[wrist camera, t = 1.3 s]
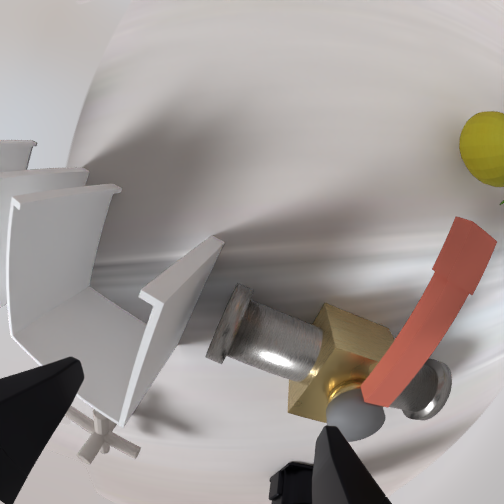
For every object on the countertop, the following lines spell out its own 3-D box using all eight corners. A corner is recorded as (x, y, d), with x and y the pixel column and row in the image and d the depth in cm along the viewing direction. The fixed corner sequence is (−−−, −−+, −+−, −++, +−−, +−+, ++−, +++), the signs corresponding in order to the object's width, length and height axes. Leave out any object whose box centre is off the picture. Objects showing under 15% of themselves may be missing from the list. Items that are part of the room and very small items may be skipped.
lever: (359, 428, 15) (362, 445, 13) (315, 418, 15) (316, 437, 13) (485, 239, 11) (503, 247, 9) (445, 209, 11) (463, 214, 9)
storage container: (15, 227, 24) (-52, 250, 13) (33, 140, 21) (-45, 141, 10) (178, 344, 24) (123, 427, 13) (225, 241, 21) (164, 303, 10)
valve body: (437, 347, 21) (469, 394, 14) (401, 395, 22) (420, 445, 15) (244, 268, 21) (222, 312, 14) (217, 333, 23) (191, 388, 16)
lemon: (465, 100, 15) (541, 75, 5) (499, 156, 15) (577, 158, 6) (425, 141, 16) (510, 124, 7) (463, 200, 17) (548, 221, 7)
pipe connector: (87, 366, 27) (41, 414, 17) (157, 406, 27) (122, 468, 17) (90, 408, 30) (56, 451, 20) (149, 441, 30) (122, 492, 20)
